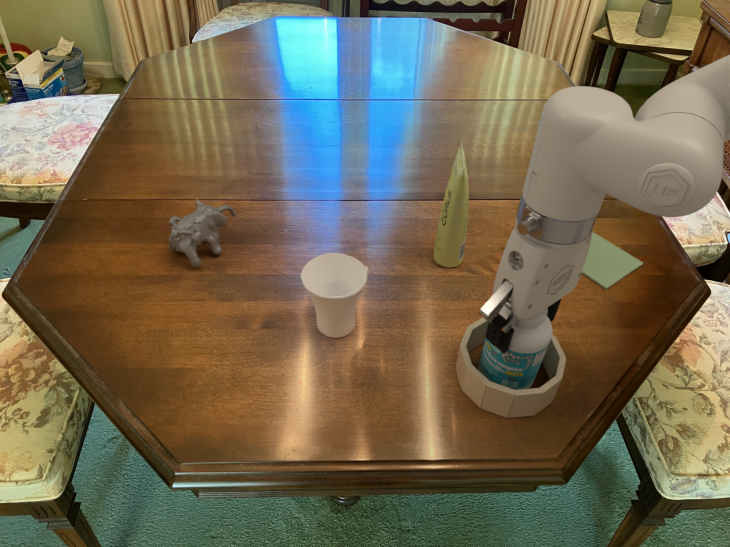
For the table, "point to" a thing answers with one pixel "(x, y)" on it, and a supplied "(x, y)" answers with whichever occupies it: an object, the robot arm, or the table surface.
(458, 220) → the tube
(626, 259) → the mat
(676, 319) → the table surface
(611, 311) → the table surface
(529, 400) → the polygonal ring band
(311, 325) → the table surface
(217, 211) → the elephant statuette
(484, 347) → the pill bottle
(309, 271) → the cup
